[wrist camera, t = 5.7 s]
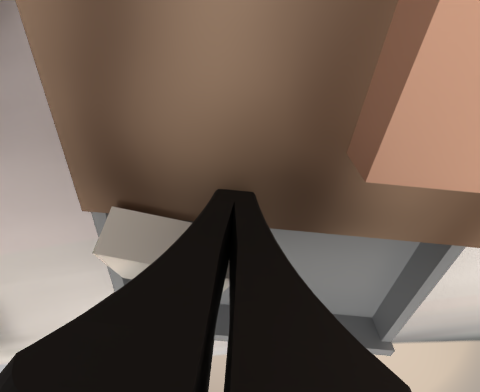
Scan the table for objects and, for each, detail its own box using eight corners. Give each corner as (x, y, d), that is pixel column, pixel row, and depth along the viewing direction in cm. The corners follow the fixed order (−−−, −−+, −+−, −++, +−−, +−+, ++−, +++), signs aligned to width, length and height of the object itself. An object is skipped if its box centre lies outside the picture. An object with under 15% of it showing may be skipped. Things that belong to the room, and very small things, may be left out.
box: (136, 294, 18) (120, 331, 16) (110, 178, 13) (82, 211, 11) (375, 316, 18) (390, 355, 16) (444, 210, 13) (479, 247, 11)
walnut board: (110, 178, 13) (82, 211, 11) (37, -148, 7) (-53, -213, 5) (444, 210, 13) (479, 247, 11) (634, -85, 7) (787, -123, 5)
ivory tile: (134, 243, 14) (122, 277, 14) (111, 206, 10) (92, 253, 9) (225, 261, 15) (219, 295, 14) (242, 233, 10) (235, 280, 10)
